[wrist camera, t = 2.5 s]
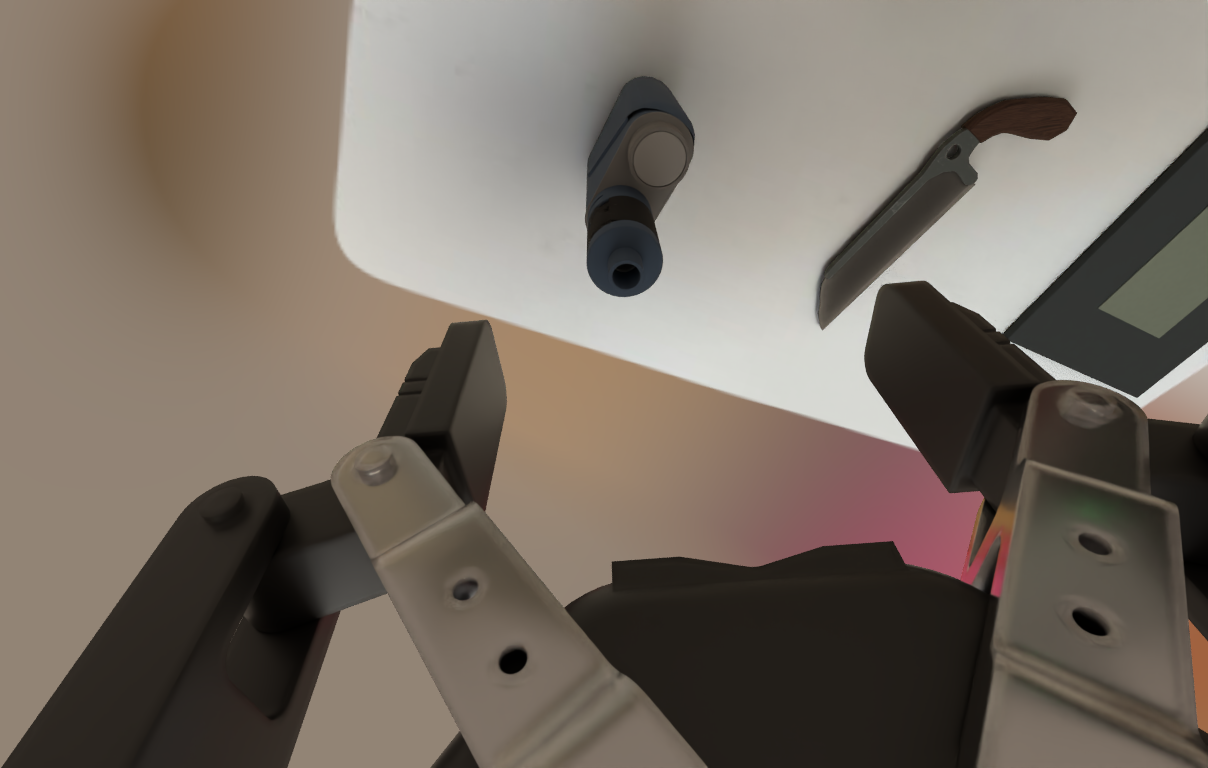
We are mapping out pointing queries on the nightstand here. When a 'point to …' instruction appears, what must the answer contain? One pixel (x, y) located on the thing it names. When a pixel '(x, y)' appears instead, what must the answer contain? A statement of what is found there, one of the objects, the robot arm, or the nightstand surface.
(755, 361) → the nightstand surface
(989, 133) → the knife
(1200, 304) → the mat
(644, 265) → the vaping device
